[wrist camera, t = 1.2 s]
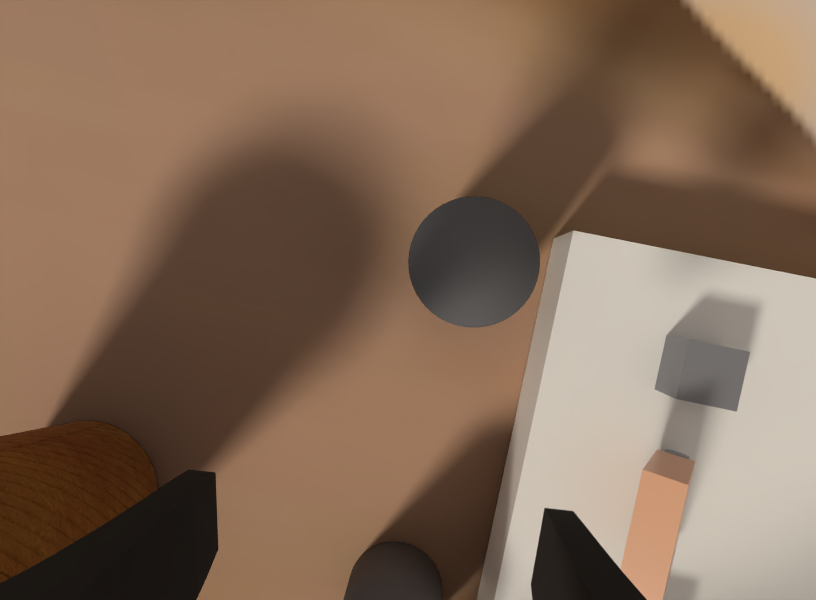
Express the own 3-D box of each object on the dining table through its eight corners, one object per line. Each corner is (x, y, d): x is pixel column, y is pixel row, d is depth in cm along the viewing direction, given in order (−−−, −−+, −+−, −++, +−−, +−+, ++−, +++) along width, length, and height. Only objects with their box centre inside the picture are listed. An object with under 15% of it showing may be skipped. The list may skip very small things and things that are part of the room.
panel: (844, 296, 21) (960, 298, 16) (746, 716, 22) (832, 833, 17) (553, 238, 21) (586, 224, 17) (465, 651, 22) (474, 747, 17)
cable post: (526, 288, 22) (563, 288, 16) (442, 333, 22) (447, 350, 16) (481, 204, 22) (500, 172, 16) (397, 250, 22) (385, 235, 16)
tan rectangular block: (696, 457, 18) (688, 484, 14) (671, 567, 18) (657, 622, 14) (659, 446, 19) (642, 469, 15) (635, 552, 19) (613, 601, 15)
